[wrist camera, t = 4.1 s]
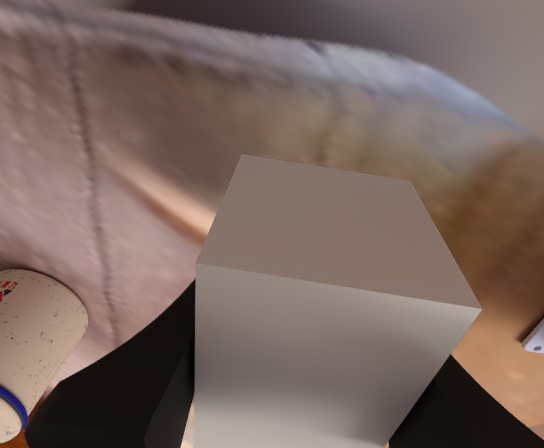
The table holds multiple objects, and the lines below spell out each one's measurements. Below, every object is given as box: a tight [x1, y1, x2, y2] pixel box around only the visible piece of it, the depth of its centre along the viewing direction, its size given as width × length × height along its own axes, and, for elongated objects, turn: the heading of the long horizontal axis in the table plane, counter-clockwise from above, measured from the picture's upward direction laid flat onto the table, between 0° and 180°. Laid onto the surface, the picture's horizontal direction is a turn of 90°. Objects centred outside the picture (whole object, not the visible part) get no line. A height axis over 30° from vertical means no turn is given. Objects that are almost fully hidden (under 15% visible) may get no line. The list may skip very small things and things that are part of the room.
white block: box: [194, 154, 482, 448], centre depth 12 cm, size 6×10×6 cm, turn 172°
